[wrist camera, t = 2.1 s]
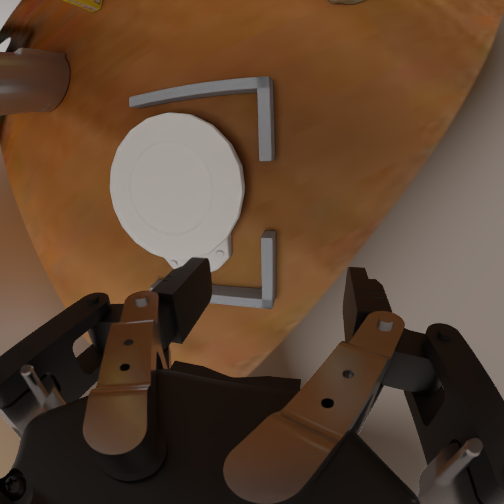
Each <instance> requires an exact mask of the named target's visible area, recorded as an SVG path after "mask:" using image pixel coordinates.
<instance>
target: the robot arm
mask: <svg viewBox="0 0 504 504" xmlns="http://www.w3.org/2000/svg"><path fill="white" fill-rule="evenodd" d="M69 78H70V70H69V65H68V63H67V61H66V59H65V53H60V52H53V51H46V50H39V49H30V48H19V49H18V50H16V51H15V52H14V53H10V52H0V115H6V114H16V113H28V112H44V111H51V110H53V109H55V108H56V107H57V106H58V105H59V103H60V102H61V101H62V99H63V97H64V95H65V93H66V91H67V87H68V84H69ZM211 297H212V281H211V270H210V262H209V259H208V258H199V257H192V258H190V259H189V260H188V261H187V262H186V263H185V264H184V265H183V266H180V267H178V268H176V269H174V270H172V271H171V272H170V273H169V274H168V275H167V277H165V278H164V279H163V280H162V281H161V282H160V283H159V284H158V285H157V286H156V287H154V288H153V289H152V290H151V291H140V292H136V293H133V294H131V295H130V296H128V297H127V298H126V300H125V303H124V304H110V301H109V297H108V295H107V294H105V293H92V294H89V295H87V296H85V297H83V298H82V299H80V300H79V301H77V302H76V303H74V304H73V305H71V306H70V307H68V308H67V309H65V310H64V311H63V312H61V313H60V314H58V315H57V316H55V317H54V318H52V319H51V320H50V321H48V322H47V323H45V324H44V325H42V326H41V327H39V328H38V329H37V330H35V331H34V332H32V333H31V334H30V335H28V336H27V337H26V338H24V339H23V340H21V341H20V342H19V343H17V344H16V345H15V346H13V347H12V348H11V349H9V350H8V351H7V352H5V353H4V354H3V355H1V356H0V415H1V416H2V417H3V419H4V420H5V421H6V422H7V423H8V425H9V426H11V427H12V428H13V429H14V431H15V432H16V433H17V434H18V435H19V436H20V437H21V441H20V446H19V450H18V454H17V457H16V460H15V462H14V464H13V466H12V469H11V470H10V472H9V473H8V474H7V475H6V476H5V477H3V478H1V479H0V504H504V400H503V399H502V397H501V395H500V393H499V392H498V390H497V388H496V387H495V386H494V383H493V382H492V380H491V378H490V377H489V375H488V374H487V372H486V371H485V369H484V368H483V366H482V364H481V363H480V361H479V360H478V358H477V357H476V355H475V354H474V352H473V351H472V349H471V348H470V347H469V345H468V344H467V342H466V341H465V340H464V338H463V337H462V335H461V334H460V333H459V331H458V330H457V329H455V328H453V327H452V326H450V325H447V324H442V323H436V324H432V325H430V326H429V327H428V328H427V331H426V334H423V333H419V332H414V331H410V330H408V329H405V328H404V326H405V324H404V321H403V320H402V318H401V317H399V316H398V315H396V314H394V313H392V310H391V307H390V304H389V302H388V299H387V296H386V294H385V291H384V288H383V286H382V284H380V283H379V282H378V281H377V280H376V279H368V276H367V273H366V270H365V268H357V267H348V270H347V277H346V286H345V292H344V300H343V319H344V332H345V341H342V342H340V343H339V344H338V346H337V347H336V348H335V350H334V351H333V352H332V353H331V354H330V356H329V357H328V358H327V359H326V361H325V362H324V363H323V364H322V366H321V367H320V368H319V369H318V370H317V372H316V373H315V374H314V375H313V376H312V377H311V379H310V380H309V381H308V382H307V383H306V384H305V385H304V386H303V388H302V389H300V384H301V379H291V378H280V377H271V376H263V377H241V378H233V377H229V376H226V375H224V374H221V373H219V372H216V371H213V370H211V369H208V368H206V367H204V366H199V365H194V364H189V363H184V362H179V361H175V362H174V363H173V365H172V366H171V351H170V346H169V344H170V343H171V342H175V343H180V344H182V343H183V342H184V340H185V339H186V337H187V336H188V334H189V333H190V331H191V330H192V328H193V327H194V325H195V324H196V322H197V320H198V319H199V317H200V316H201V314H202V313H203V311H204V310H205V308H206V307H207V305H208V304H209V302H210V300H211ZM86 331H88V333H89V336H90V338H91V341H92V343H93V344H92V345H91V346H90V347H89V348H87V349H86V350H85V351H84V352H83V353H81V354H80V355H79V356H78V357H77V358H76V357H75V355H74V353H73V348H72V347H73V343H74V342H75V340H76V339H78V338H79V337H80V336H81V335H83V334H84V333H85V332H86ZM97 381H98V383H97V386H96V388H95V389H92V390H91V391H90V394H89V395H88V396H86V397H83V398H81V399H79V398H80V397H81V396H82V395H83V394H84V393H85V392H86V391H87V390H88V389H89V388H90V387H91V386H92V385H94V384H95V382H97ZM384 385H386V386H390V387H393V388H398V389H402V390H404V394H405V396H406V400H407V402H408V405H409V408H410V411H411V414H412V417H413V420H414V423H415V426H416V429H417V432H418V435H419V438H420V442H421V445H422V448H423V451H424V455H425V458H426V462H427V467H426V468H425V469H424V470H423V471H422V473H421V475H420V478H419V493H418V497H417V496H416V495H415V494H414V493H413V491H412V490H411V489H410V488H409V487H408V486H407V485H406V484H405V483H404V482H403V481H402V480H401V479H400V478H399V477H398V476H397V475H396V474H395V473H394V472H393V471H392V470H391V469H390V468H389V467H388V466H387V465H386V464H385V463H384V462H383V461H382V460H381V459H380V458H379V457H378V456H377V454H376V453H375V452H374V451H373V450H372V449H371V448H370V447H369V446H368V445H367V444H366V443H365V442H364V441H363V440H362V438H360V437H359V435H358V434H359V432H360V430H361V429H362V427H363V425H364V423H365V421H366V418H367V417H368V415H369V413H370V412H371V409H372V408H373V406H374V404H375V403H376V401H377V399H378V397H379V395H380V393H381V391H382V389H383V387H384ZM442 386H443V387H442ZM443 388H444V389H443Z"/></svg>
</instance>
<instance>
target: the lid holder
mask: <svg viewBox="0 0 504 504" xmlns="http://www.w3.org/2000/svg"><path fill="white" fill-rule="evenodd" d="M242 93H257V95H258V128H259V161H273V160H275V137H274V101H273V81H272V80H271V78H270V77H252V78H240V79H229V80H220V81H212V82H205V83H198V84H191V85H185V86H180V87H174V88H169V89H164V90H159V91H154V92H150V93H145V94H141V95H137V96H133V97H129V107H135V108H144V107H148V106H153V105H159V104H164V103H169V102H175V101H182V100H188V99H195V98H203V97H211V96H220V95H230V94H242ZM261 262H262V289H258V288H245V287H233V286H222V285H212V297H211V300H210V302H209V303H216V304H225V305H235V306H245V307H255V308H267V309H272V308H273V305H274V301H275V288H276V231H265V232H264V233H263V235H262V237H261ZM161 281H162V280H161V279H158V280H157V281H156V282H155V283H154V284H153V285H152V286H151V287H150V291H151V290H152V289H153V288H154V287H156V286H157V285H158V284H159V283H160V282H161Z"/></svg>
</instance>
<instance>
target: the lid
mask: <svg viewBox="0 0 504 504" xmlns="http://www.w3.org/2000/svg"><path fill="white" fill-rule="evenodd" d="M110 192H111V197H112V202H113V207H114V210H115V212H116V214H117V216H118V219H119V221H120V223H121V225H122V227H123V228H124V229H125V231H126V232H127V233H128V234H129V235H130V236H131V238H132V239H133V240H134V241H135V242H136V243H137V244H138V245H140V246H141V247H143V248H144V249H146V250H147V251H149V252H150V253H152V254H154V255H157V256H161V257H164V258H165V259H166V260H167V262H168V263H169V264H170V265H171V266H172V268H174V269H176V268H178V267H180V266H183V265H184V264H185V263H186V262H187V261H188V260H189V259H190V258H192V257H199V258H208V259H209V262H210V270H211V272H213V271H216V270H218V269H219V268H220V267H221V266H222V265H223V264H224V263H225V262H226V261H227V260H228V259H229V258H230V256H231V255H232V244H231V231H232V229H233V228H234V226H235V224H236V222H237V221H238V219H239V217H240V213H241V208H242V203H243V198H244V193H245V183H244V174H243V166H242V164H241V162H240V159H239V157H238V155H237V153H236V151H235V149H234V147H233V145H232V144H231V143H230V142H229V141H228V139H227V138H226V137H225V136H224V135H223V134H222V133H221V132H220V131H219V130H218V129H217V128H216V127H215V126H214V125H212V124H210V123H208V122H206V121H204V120H202V119H200V118H198V117H196V116H194V115H191V114H182V113H172V112H168V113H164V114H160V115H156V116H153V117H149V118H147V119H146V120H144V121H143V122H141V123H140V124H139V125H137V126H136V127H134V128H133V129H132V130H130V132H129V133H128V134H127V136H126V137H125V138H124V140H123V141H122V143H121V144H120V145H119V147H118V149H117V152H116V154H115V157H114V160H113V163H112V166H111V176H110Z"/></svg>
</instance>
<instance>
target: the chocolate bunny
mask: <svg viewBox="0 0 504 504" xmlns="http://www.w3.org/2000/svg"><path fill="white" fill-rule="evenodd" d="M361 1H363V0H329V2H330V3H331V4H337V3H342V4H346V5H347V4H356V3H358V2H361Z"/></svg>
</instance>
